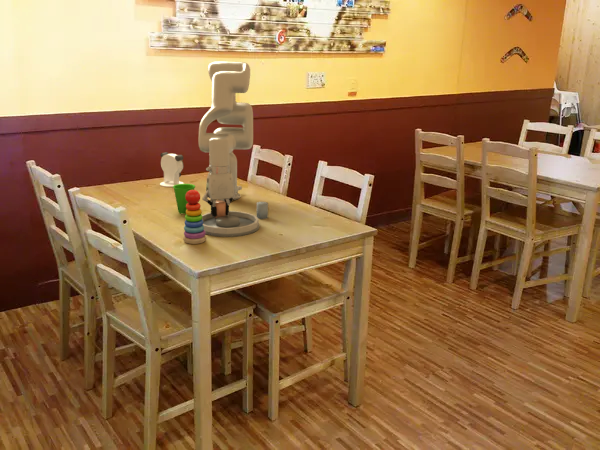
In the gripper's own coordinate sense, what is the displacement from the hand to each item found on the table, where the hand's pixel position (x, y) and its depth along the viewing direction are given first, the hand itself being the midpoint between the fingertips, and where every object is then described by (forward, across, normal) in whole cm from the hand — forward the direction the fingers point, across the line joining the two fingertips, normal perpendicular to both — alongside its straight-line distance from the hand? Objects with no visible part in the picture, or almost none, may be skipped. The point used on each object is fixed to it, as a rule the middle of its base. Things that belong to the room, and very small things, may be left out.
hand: (219, 214), depth 229 cm
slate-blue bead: (+3, +18, -2) cm, 18 cm away
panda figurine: (+3, +4, +66) cm, 66 cm away
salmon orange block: (+1, 0, 0) cm, 1 cm away
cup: (+3, -8, +18) cm, 20 cm away
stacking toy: (+3, -17, -18) cm, 25 cm away
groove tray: (+3, 0, -8) cm, 8 cm away
